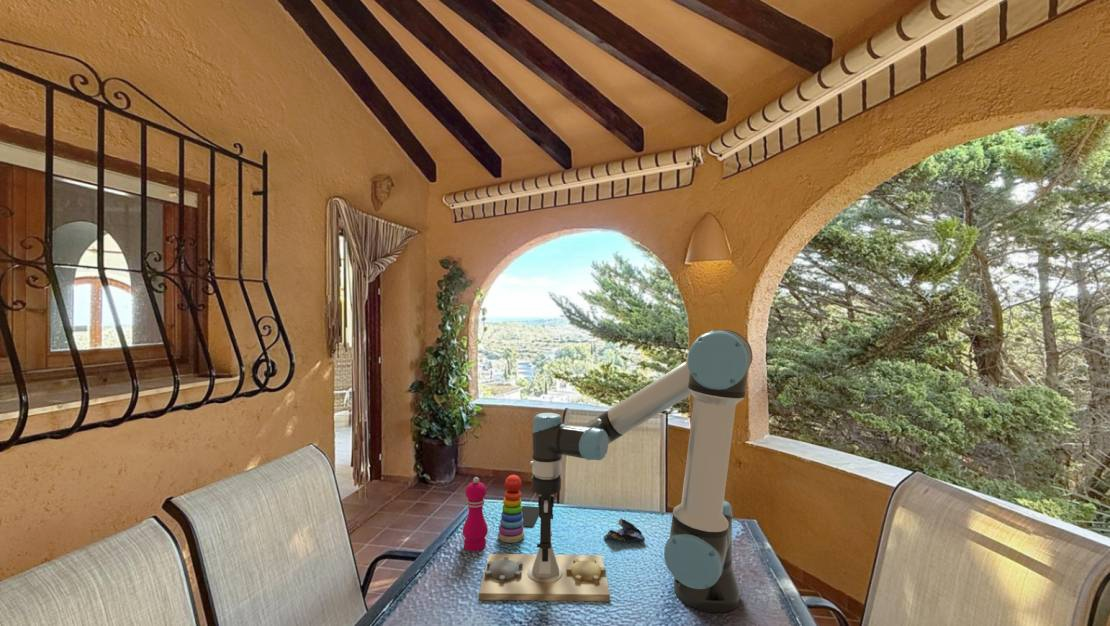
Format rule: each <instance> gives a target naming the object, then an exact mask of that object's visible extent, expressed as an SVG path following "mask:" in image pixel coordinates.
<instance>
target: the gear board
mask: <svg viewBox="0 0 1110 626" xmlns="http://www.w3.org/2000/svg"><path fill="white" fill-rule="evenodd" d="M554 555H555V558H556V561H557V564H558V567H559V575H557V576H554V577H552V578H538V577H536V576H535V575H534V574H533V573H532V567H533V564H534V561H535V559H536V556H537V554H533V553H532V554H526V553H524V554H523V553H522V554H521V553H520V554H519V553H518V554H517V553H488V557H487V561H486V565H485V568H484V572H483V576H482V580H481V583H480V584H481V585H480V588H479V591H478V600H479V601H483V600H486V601H487V600H489V601H495V600H496V601H570V602H571V601H572V602H573V601H575V602H576V601H579V602H580V601H581V602H582V601H584V602H585V601H587V602H591V601H592V602H598V601H599V602H610V601H611V594H610V588H609V584H608V580H607V575H606V574H607V572H606V571H607V570H606V567H605V565H604V559H603V555H602V554H554Z"/></svg>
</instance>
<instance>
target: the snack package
mask: <svg viewBox="0 0 1110 626" xmlns="http://www.w3.org/2000/svg"><path fill="white" fill-rule="evenodd" d="M618 525H619V526H620V527H621V528H620V529H617V530H613V529H610V530H609V531H607V533H606V534H605V535H603V537H604V539H605V540H606V539H613V540H618V541H622V542H634V541H638V542H639V541H640V542H642V543H644V542H645V540H646V539H645V537H644V536H643V533H642V531H641V530H640V529H638V528H637V526H636V525H634V524H633V523H631V522H630V521H628V520H626V519H623V518H622V517H621V518H620V519H619V520H618Z"/></svg>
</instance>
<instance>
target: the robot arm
mask: <svg viewBox="0 0 1110 626" xmlns="http://www.w3.org/2000/svg"><path fill="white" fill-rule="evenodd" d="M752 361H753V350H752V347H751V344H750V343H749V341H748V339H746V338H745V337H744V335H741V334H740V333H738V332H735V331H732V330H729V329H728V330H727V329H723V330H711V331H707V332H704V333H703V334H701V335H700V336H698V337H697V339H695V340H694V341H693V343H692V345H690V348H689V350H688V354H687V356H686V361H684V362H682V363H681V364H678V365H677V366H676V367H675V368H673V369H671V370H670V371H668V372H667V373H665V374H663V375H662V376H660V377H659V378H656V379H655V380H654V381H652V382H651V383H649V384H647V385H646V386H645V387H643V388H641V389H640V390H638V391H636V392H634V393H633V394H631V395H630V396H629V397H627V398H625V399H624V400H622V401H621V402H618V404H616V405H614V406H612V407H611V408H610V409H608V410H607V411H605V412H603V413H602V414H600V415H599V416H597V417H595V418H593V419H592V420H589V421H588V422H585V423H584V424H582V425H573V424H566V423H563V417H562V415H560V414H558V413H554V412H542V413H537V414H536V415H535V416H534V417H533V420H532V421H533V422H532V431H531V434H532V461H531V460H530V461H529V465H530V466H531V473H532V476H531V491H533V493H536V494H538V499H537V500H538V501H537V503H538V504H537V505H538V506H537V507H539V517H538V518H540V528H539V529H540V533H539V535H540V537H539V543H536V547H537V548H540V554H539V573H540V574H550V569H551V543H552V542H551V543H550V534H551V531H552V520H554V514H553V513H554V512H553V508H554V504H555V499H554V498H555V495H554V494H558V493H559V492H560V491H561V490H562V485H561V484H562V477H561V474H562V456H567V457H574V458H579V459H585V460H587V461H601V460H603V459H604V458H605V457H606V454H607V453H608V450H609V445H610V444H611V443H612V442H614V441H616V440H617V439H619V438H621V437H623V436H624V435H625V434H627V433H629V432H630V431H633V430H634V429H637V427H639V426H641V425H642V424H644V423H645V422H647V421H649V420H651V419H653V418H654V417H656V416H657V415H659V414H661V413H662V412H664V411H666V410H668V409H669V408H671V407H673V406H675V405H676V404H678V403H680V402H681V401H683V400H685V399H687V398H688V397H690V396H691V395H692V397H693V402H692V403H693V404H692V411H691V421H690V422H691V423H690V429H689V436H688V445H687V446H688V447H687V451H686V452H687V453H686V454H687V455H686V462H685V469H684V478H683V487H682V492H681V493H682V494H681V503H679V504H678V505H676V506H675V507H674V508H673V510H672V516H671V517H672V518H671V524H670V525H671V526H670V535H669V538H668V540H666V543H665V544H664V551H663V553H664V555H663V557H664V558H663V559H664V562H665V565H666V568H667V570H668V571H669V573H671V574H672V576H673V578H674V579H673V590H674V594H675V595H676V597H678V599H679V600H680V601H682V602H683V603H684V604H686V605H688V606H690V607H692V608H694V609H696V610H700V611H702V612H708V613H717V614H718V613H727V612H730V611H733V610H734V609H736V608H737V607H738V605H739V603H740V588H739V585H738V583H737V579H736V576H735V575H736V574H735V572H734V569H733V563H732V562H733V561H732V559H733V558H732V557H733V556H732V555H733V554H732V553H733V552H732V551H733V549H732V548H733V545H732V544H733V540H732V539H733V533H732V532H733V517H734V515H733V507H732V505H731V503H730V502H728V501H727V500H725V495H726V488H727V486H726V485H727V479H728V471H729V463H730V455H731V446H732V440H733V439H732V438H733V431H734V422H735V416H736V415H735V414H736V407H737V405H738V403H740V402H741V401H744V399H745V396H746V389H747V383H748V382H747V381H748V376H749V375H748V374H749V370H750V367H751V365H752Z"/></svg>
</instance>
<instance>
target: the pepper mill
mask: <svg viewBox="0 0 1110 626" xmlns="http://www.w3.org/2000/svg"><path fill="white" fill-rule="evenodd" d="M486 495H487V488H486V486H485V484H484V483H483V482H480V478H479V477H477V476H475V477H473V479H472V482H470V483H469V484H468V485H467V486H466V488H465V496H466V498H467V500H466V502H467V503H466V506H467V507H468V514H467V517H466V520H465V522H464V524H463V527H462V536H463V538H464V541H463V548H464V550H465V551H469V552H478V551H482V550H483V549H485V547H486V546H487V539H486V536H487V535H488V534H489V533H488V532H489V530H488V525H487V521H486V519H485V517H484V513H483V511H484V510H483V506H484V505H485V497H486Z"/></svg>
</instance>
